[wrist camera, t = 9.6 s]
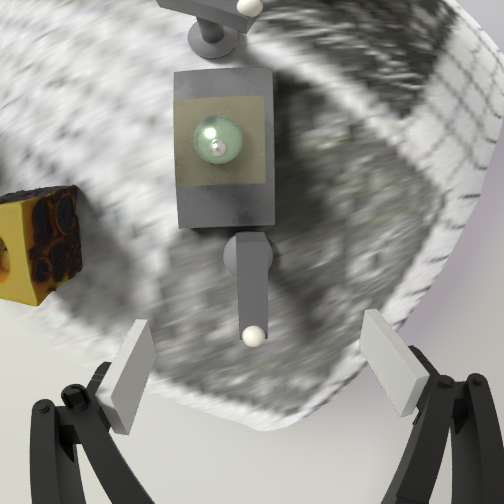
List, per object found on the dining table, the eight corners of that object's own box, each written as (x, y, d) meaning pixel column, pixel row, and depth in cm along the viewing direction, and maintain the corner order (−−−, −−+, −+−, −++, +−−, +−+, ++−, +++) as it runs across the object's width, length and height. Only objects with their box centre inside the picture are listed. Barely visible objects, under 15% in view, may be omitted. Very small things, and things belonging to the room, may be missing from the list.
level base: (178, 78, 24) (149, 40, 14) (269, 74, 25) (287, 32, 14) (183, 223, 29) (155, 257, 19) (271, 219, 29) (290, 253, 19)
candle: (78, 184, 27) (22, 198, 17) (85, 269, 30) (41, 309, 20) (18, 189, 26) (-36, 204, 17) (27, 265, 29) (-19, 296, 20)
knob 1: (168, 45, 23) (138, -1, 13) (191, 10, 21) (174, -44, 11) (242, 72, 24) (245, 29, 14) (264, 36, 23) (278, -16, 13)
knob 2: (222, 216, 29) (214, 248, 19) (271, 215, 29) (290, 245, 19) (226, 293, 31) (222, 352, 21) (271, 291, 32) (286, 349, 22)
